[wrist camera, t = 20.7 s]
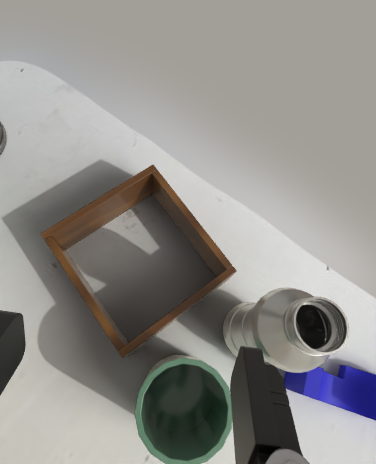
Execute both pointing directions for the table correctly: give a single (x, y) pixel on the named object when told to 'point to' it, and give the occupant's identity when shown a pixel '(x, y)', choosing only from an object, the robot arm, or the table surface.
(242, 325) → the silver metal bottle
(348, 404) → the blue cradle bracket
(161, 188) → the open box
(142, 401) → the cup
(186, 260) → the table surface
